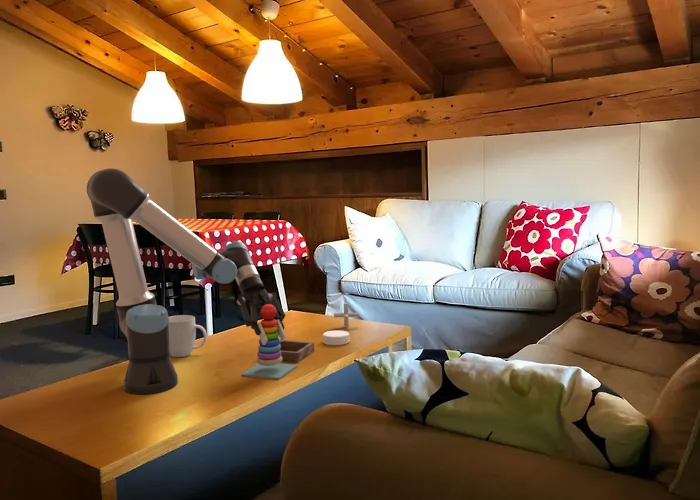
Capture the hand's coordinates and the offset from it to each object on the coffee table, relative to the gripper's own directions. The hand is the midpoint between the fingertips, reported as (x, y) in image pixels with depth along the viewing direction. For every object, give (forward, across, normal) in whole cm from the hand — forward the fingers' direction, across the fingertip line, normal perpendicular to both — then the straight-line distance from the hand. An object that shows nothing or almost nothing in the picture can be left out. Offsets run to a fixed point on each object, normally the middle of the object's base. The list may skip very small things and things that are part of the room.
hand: (274, 340), depth 180 cm
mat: (+5, 0, -10) cm, 11 cm away
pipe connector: (-17, -51, -32) cm, 63 cm away
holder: (-3, -13, -19) cm, 23 cm away
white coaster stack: (-5, -36, -21) cm, 42 cm away
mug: (-20, +16, -36) cm, 44 cm away
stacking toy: (+3, 0, -8) cm, 9 cm away
